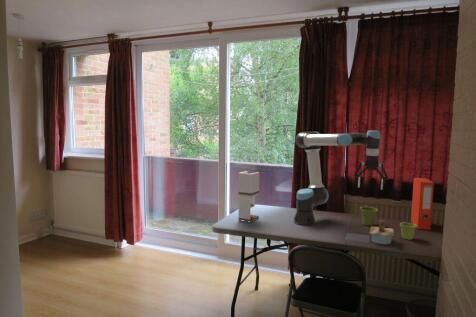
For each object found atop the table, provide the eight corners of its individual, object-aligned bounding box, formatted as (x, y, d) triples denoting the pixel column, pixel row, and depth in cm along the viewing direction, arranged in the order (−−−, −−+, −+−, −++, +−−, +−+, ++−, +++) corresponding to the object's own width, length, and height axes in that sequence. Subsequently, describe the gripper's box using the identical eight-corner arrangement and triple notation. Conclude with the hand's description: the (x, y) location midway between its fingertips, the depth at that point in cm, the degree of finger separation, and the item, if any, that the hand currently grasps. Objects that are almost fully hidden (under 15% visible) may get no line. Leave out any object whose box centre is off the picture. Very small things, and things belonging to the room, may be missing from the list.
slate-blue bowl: (370, 243, 206) (371, 233, 205) (371, 237, 216) (372, 228, 215) (391, 245, 201) (391, 235, 200) (391, 239, 211) (391, 230, 210)
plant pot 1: (378, 227, 235) (379, 211, 234) (360, 226, 237) (361, 210, 236) (375, 222, 247) (376, 207, 245) (358, 221, 249) (358, 206, 248)
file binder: (423, 222, 246) (425, 178, 243) (430, 230, 230) (433, 182, 226) (410, 221, 248) (413, 177, 245) (417, 229, 232) (420, 182, 228)
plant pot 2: (395, 235, 218) (396, 222, 217) (410, 235, 219) (410, 222, 218) (404, 241, 209) (404, 227, 208) (419, 240, 210) (419, 226, 209)
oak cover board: (369, 233, 204) (369, 222, 203) (370, 227, 216) (370, 216, 215) (393, 236, 199) (394, 225, 198) (393, 230, 211) (393, 219, 210)
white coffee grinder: (251, 222, 247) (251, 174, 243) (238, 220, 252) (238, 172, 248) (258, 218, 256) (259, 172, 252) (246, 216, 262) (246, 170, 258)
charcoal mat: (344, 240, 210) (344, 239, 210) (347, 233, 223) (347, 232, 223) (368, 243, 205) (368, 242, 205) (370, 236, 217) (370, 235, 217)
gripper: (350, 154, 219) (348, 187, 222) (393, 157, 208) (391, 191, 211) (352, 153, 226) (350, 185, 229) (394, 155, 215) (391, 189, 218)
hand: (370, 188), depth 220 cm, fingers open, 13 cm apart
